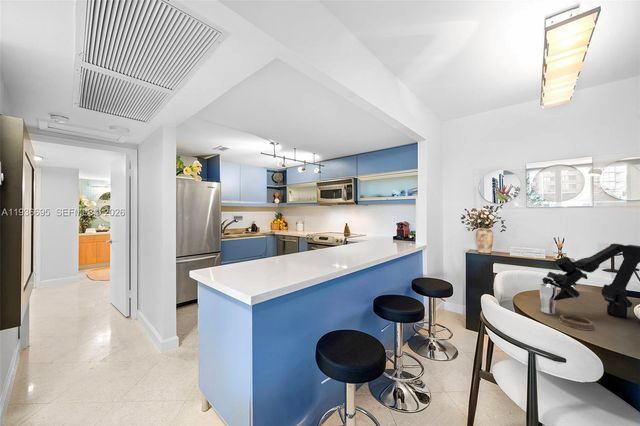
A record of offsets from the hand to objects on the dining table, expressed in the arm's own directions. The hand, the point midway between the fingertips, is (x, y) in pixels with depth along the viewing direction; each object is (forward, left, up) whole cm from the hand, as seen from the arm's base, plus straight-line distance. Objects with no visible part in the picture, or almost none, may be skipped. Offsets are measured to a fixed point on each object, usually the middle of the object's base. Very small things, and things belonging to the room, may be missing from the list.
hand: (547, 297), depth 136 cm
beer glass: (0, 0, -9) cm, 9 cm away
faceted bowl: (-11, +9, -8) cm, 17 cm away
